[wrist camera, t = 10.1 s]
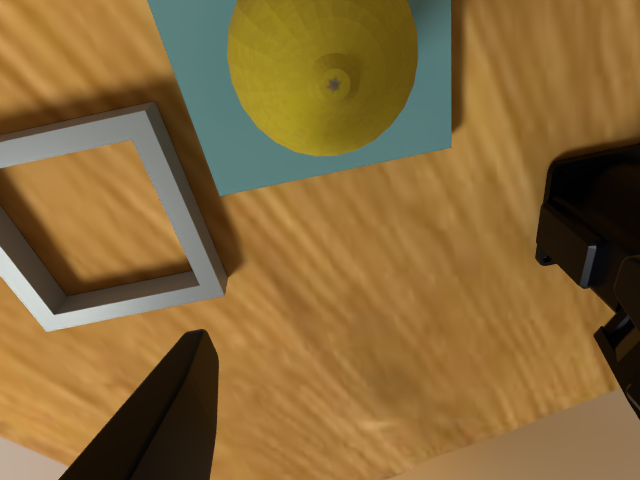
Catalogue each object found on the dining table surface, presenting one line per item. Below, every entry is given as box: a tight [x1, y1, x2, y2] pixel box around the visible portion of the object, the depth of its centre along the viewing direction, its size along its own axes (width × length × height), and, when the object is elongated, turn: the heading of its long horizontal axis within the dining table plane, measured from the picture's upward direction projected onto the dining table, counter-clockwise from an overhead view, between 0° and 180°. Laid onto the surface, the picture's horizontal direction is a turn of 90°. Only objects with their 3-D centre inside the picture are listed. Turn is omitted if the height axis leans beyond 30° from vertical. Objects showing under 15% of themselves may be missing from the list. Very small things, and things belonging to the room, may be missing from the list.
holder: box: [0, 101, 228, 332], centre depth 19 cm, size 10×10×2 cm
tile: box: [147, 0, 452, 196], centre depth 16 cm, size 11×11×1 cm
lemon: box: [227, 0, 418, 156], centre depth 12 cm, size 6×6×8 cm
